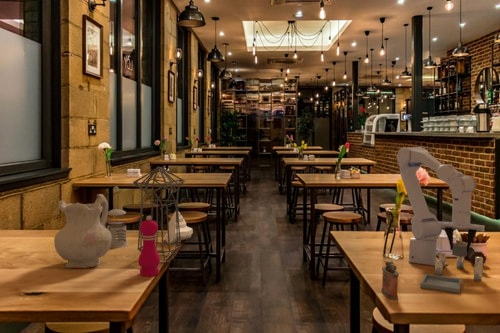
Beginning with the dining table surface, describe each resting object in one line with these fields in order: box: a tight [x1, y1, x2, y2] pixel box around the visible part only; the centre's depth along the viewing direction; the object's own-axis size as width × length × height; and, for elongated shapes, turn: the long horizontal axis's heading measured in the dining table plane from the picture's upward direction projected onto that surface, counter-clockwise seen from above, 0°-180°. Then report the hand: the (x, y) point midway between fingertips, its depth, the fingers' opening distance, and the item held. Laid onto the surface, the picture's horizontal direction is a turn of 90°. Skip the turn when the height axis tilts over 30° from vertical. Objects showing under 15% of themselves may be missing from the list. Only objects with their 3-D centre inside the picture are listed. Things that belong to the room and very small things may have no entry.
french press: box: [104, 186, 129, 249], centre depth 194 cm, size 10×12×25 cm
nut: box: [451, 242, 467, 257], centre depth 159 cm, size 4×5×4 cm
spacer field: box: [434, 251, 484, 282], centre depth 160 cm, size 14×15×5 cm
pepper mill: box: [138, 215, 161, 278], centre depth 156 cm, size 7×7×20 cm
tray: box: [420, 273, 462, 295], centre depth 147 cm, size 11×11×2 cm
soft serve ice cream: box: [163, 210, 194, 243], centre depth 205 cm, size 12×15×14 cm
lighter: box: [381, 260, 399, 301], centre depth 137 cm, size 8×3×10 cm, turn 5°
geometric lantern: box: [132, 166, 186, 264], centre depth 173 cm, size 16×16×35 cm
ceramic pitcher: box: [53, 193, 112, 269], centre depth 168 cm, size 22×20×25 cm
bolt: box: [464, 246, 487, 266], centre depth 177 cm, size 6×5×15 cm
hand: (459, 250), depth 159 cm, fingers closed on nut, 4 cm apart
